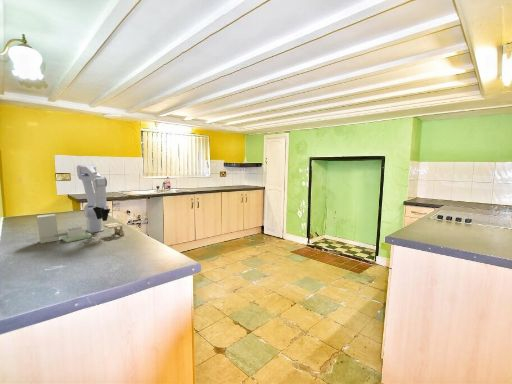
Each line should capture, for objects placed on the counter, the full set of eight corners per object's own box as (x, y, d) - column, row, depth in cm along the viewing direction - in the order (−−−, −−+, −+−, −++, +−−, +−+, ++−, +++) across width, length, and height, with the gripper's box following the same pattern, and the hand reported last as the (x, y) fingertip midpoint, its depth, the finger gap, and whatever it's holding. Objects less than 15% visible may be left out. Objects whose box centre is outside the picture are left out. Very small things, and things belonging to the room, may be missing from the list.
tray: (61, 239, 148) (60, 235, 148) (85, 234, 158) (85, 231, 158) (67, 242, 142) (66, 238, 142) (91, 237, 152) (91, 234, 152)
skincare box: (58, 238, 149) (56, 213, 148) (58, 241, 145) (56, 215, 143) (39, 241, 144) (37, 215, 142) (39, 243, 140) (36, 216, 138)
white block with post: (54, 240, 144) (53, 231, 144) (82, 235, 155) (81, 226, 154) (56, 242, 141) (56, 233, 140) (85, 237, 151) (84, 228, 150)
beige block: (104, 235, 156) (103, 224, 155) (117, 232, 162) (117, 222, 162) (110, 238, 151) (109, 227, 150) (124, 235, 157) (123, 224, 156)
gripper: (88, 197, 156) (89, 219, 157) (98, 199, 147) (99, 222, 149) (101, 196, 161) (102, 217, 163) (111, 198, 153) (112, 220, 154)
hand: (102, 219), depth 156 cm, fingers open, 7 cm apart
